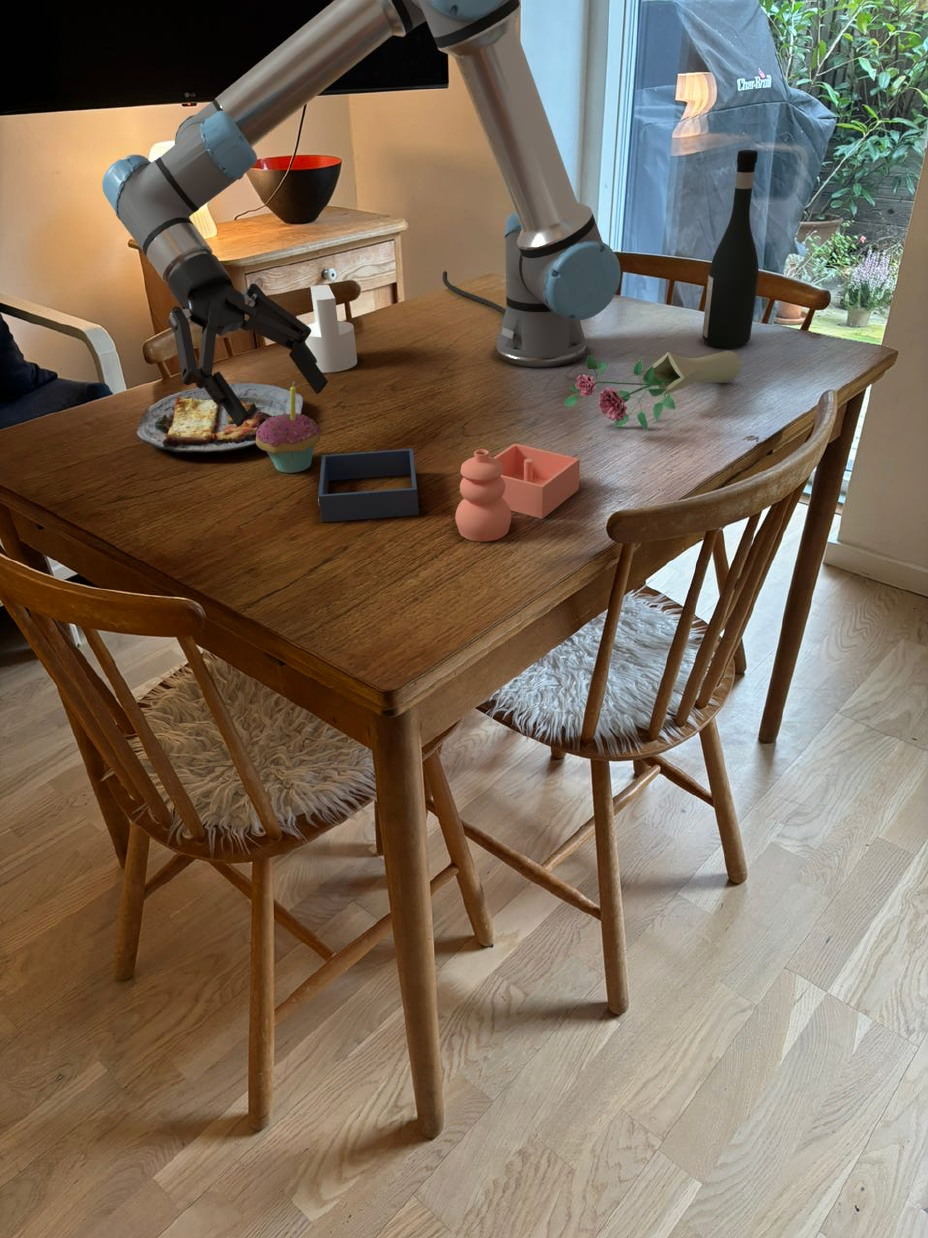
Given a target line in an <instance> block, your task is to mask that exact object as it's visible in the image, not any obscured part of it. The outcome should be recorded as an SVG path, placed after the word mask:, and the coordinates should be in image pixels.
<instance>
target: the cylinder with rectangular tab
mask: <svg viewBox="0 0 928 1238" xmlns="http://www.w3.org/2000/svg"><path fill="white" fill-rule="evenodd" d="M310 293H311V301H312V308H313V316H314V322H312V323H309V324H306V325H307V326H308V327H309V328H310V329H311V333H310V335H309V336H308V338H307V339H306V341H305V343H306V345H307V346H308V348H309V349H310V350H311V352H312V353H313V355H314V356H315V358H316V360H317V363H316V365H317V366H318V368H319V369H320V371H321V372H322V373H323V374H324V373H325V374H326V373H337V372H342V371H346V370H349V369H351V368H353V367H355V366H356V365H357V364H358V355H357V346H356V336H355V326H354V325H353V323H351V322H349V321H344V320H338V311H337V302H336V297H335V295H334V293H333V291H332V289H331V287H330V285H329V284H319V285H312V286H310Z"/></svg>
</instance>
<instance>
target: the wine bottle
mask: <svg viewBox="0 0 928 1238" xmlns="http://www.w3.org/2000/svg"><path fill="white" fill-rule="evenodd" d="M758 156H759V155H758V151H757V150H755V149H742V150H739V151H738V152H737V157H736V165H737V167H736V175H735V183H734V185H735V186H734V194H733V195H734V196H733V203H732V211H731V215H730V218H729V222H728V225H727V227H726V230H725V232H724V234H723V236H722V238H721V240H720V242H719V244H718V246H717V248H716V249H715V252H714V255H713V257H712V260H711V263H710V267H709V271H708V278H707V287H706V295H705V297H706V298H705V307H704V317H703V324H702V325H703V326H702V340H703V342H704V343H706V344H707V345H708V346H710V347H713V348H717V349H736V348H737V349H738V348H741V347H744V346H745V345H746V344H747V343H748V342H749V341H750V340H751V335H752V328H753V320H754V313H755V305H756V297H757V291H758V283H759V282H758V281H759V259H758V258H759V257H758V253H757V249H756V245H755V241H754V236H753V233H752V228H751V227H752V226H751V218H750V214H751V213H750V212H751V202H752V193H753V186H754V185H753V184H754V177H755V172H756V166H757V165H756V164H757V163H758Z"/></svg>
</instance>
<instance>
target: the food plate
mask: <svg viewBox="0 0 928 1238" xmlns="http://www.w3.org/2000/svg"><path fill="white" fill-rule="evenodd" d="M228 385H229V386H230V387H231V389H232V390H233V392H234V393H235V395H236V396H237V397H238V399H239V400H240V402H241V403H242V405H243V406H244V407H245V409H246V410H247V412H248V413H249V415H248V417H247V418H246V420H245V421H244V423H243V424H242V425H241V426H239V427H237V426H236V424H235V423H234V421H233V420H232V419H231V417H230V416H229V414H228V413H227V411H226V410H225V409H224V407H223V406H222V404H218V405H217V404H216V403H215V402H214V401H213V400H212V398H211V397H210V395H209V394H208V392H207V391H206V390H205V388H202V389H201V388H198V387H196V388H191V389H187V390H183V391H179V392H176V393H174V394H171V395H168V396H166V397H163V398H161V399H159V401H157V402H156V403H154V404H152V405H151V406H148V407H146V408H145V410H144V412H143V414H142V416H141V418H140V421H139V423H138V427H137V430H136V431H135V432H136V435H137V437H138V439H139V440H141V441H142V443H143V442H144V443H145V444H148V445H150V446H152V447H154V448H156V449H158V450H164V451H170V452H172V453H173V452H174V453H176V454H177V453H208V452H212V453H219V454H220V453H224V452H230V451H237V450H241V449H246V448H248V447H252V446H255V445H256V446H257V444H256V432H257V429H258V428H259V427H258V426H260V424H262V423H263V422H264V421H266V420H267V419H268V418H269V417H270V418H271V417H273V416H278V415H281V414H289V413H290V389H289V390H288V389H285V388H283V387H279V386H276V385H273V384H272V385H271V384H264V383H255V382H251V381H249V382H248V383H247V382H230V383H228ZM303 401H304V398H303V396H302V395H301V394H299V393H297V392H296V413H298V414H301V415H302V408H303Z"/></svg>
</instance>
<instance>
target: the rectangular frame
mask: <svg viewBox="0 0 928 1238" xmlns="http://www.w3.org/2000/svg"><path fill="white" fill-rule="evenodd" d="M414 454H415V453H414V448H401V449H390V450H376V451H375V450H374V451H362V452H361V451H360V452H348V453H347V452H346V453H334V454H322V455H321V463H320V474H319V483H318V485H319V486H318V496H317V503H318V504H317V505H318V506H319V512H320V518H321V523H332V522H333V523H334V522H345V521H358V520H370V519H371V520H372V519H383V518H384V519H385V518H398V517H411V516H419V515H420V511H419V509H420V508H419V497H418V496H419V495H418V485H417V476H416V466H415V465H416V464H415V455H414ZM399 476H410V479H411V487H407V488H394V489H393V488H391V489H379V490H378V489H377V490H367V491H366V490H365V491H353V492H341V493H340V492H339V493H329V486H330V481H344V480H345V481H346V480H358V479H371V478H373V479H374V478H385V477H386V478H387V477H399Z"/></svg>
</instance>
